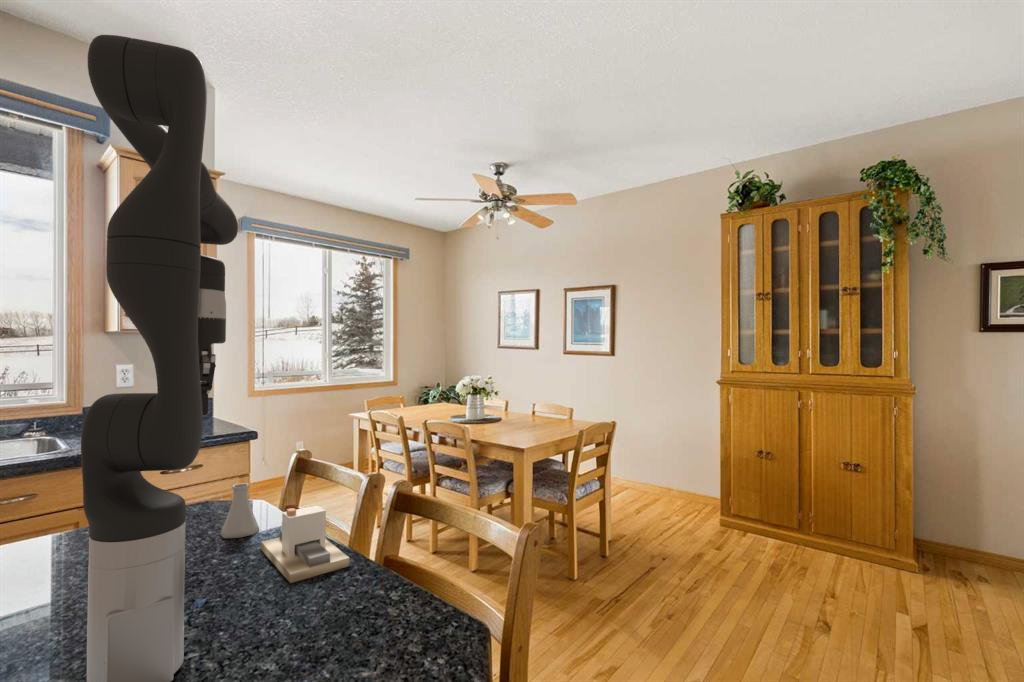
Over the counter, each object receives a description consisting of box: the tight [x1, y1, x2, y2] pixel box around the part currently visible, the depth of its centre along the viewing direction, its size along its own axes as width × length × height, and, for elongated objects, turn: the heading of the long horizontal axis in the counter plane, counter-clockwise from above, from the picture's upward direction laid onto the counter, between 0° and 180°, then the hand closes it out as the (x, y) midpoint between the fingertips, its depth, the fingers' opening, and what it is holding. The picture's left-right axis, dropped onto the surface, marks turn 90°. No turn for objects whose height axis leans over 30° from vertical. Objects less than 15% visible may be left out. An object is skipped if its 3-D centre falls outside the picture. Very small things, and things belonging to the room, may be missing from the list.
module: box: [281, 505, 327, 558], centre depth 92 cm, size 4×6×8 cm, turn 131°
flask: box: [219, 482, 260, 539], centre depth 104 cm, size 7×7×10 cm
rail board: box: [260, 529, 350, 584], centre depth 92 cm, size 18×10×3 cm, turn 41°
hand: (199, 414), depth 87 cm, fingers closed
